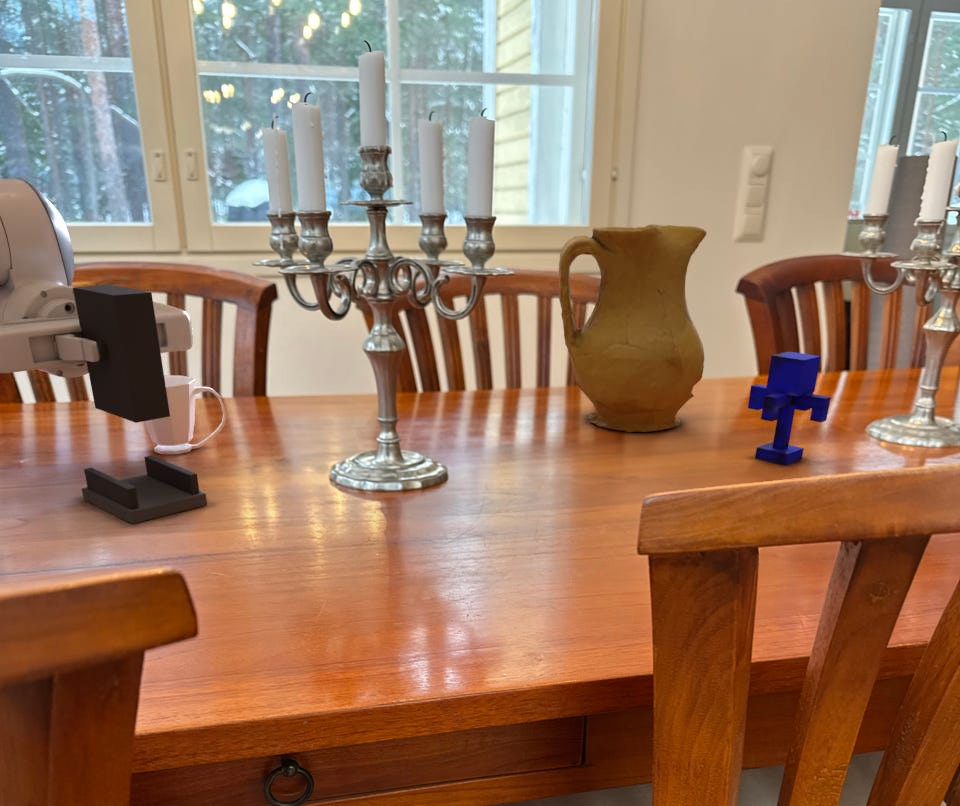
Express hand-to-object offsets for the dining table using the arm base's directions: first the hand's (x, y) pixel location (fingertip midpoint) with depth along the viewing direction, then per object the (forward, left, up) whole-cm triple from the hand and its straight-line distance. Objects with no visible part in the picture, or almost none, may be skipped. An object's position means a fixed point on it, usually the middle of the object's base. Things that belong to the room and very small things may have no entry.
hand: (126, 348), depth 82 cm
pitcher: (+59, +28, -15) cm, 68 cm away
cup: (+1, +20, -15) cm, 25 cm away
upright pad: (-1, +1, -6) cm, 6 cm away
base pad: (-1, 0, -15) cm, 15 cm away
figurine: (+71, +7, -15) cm, 73 cm away
